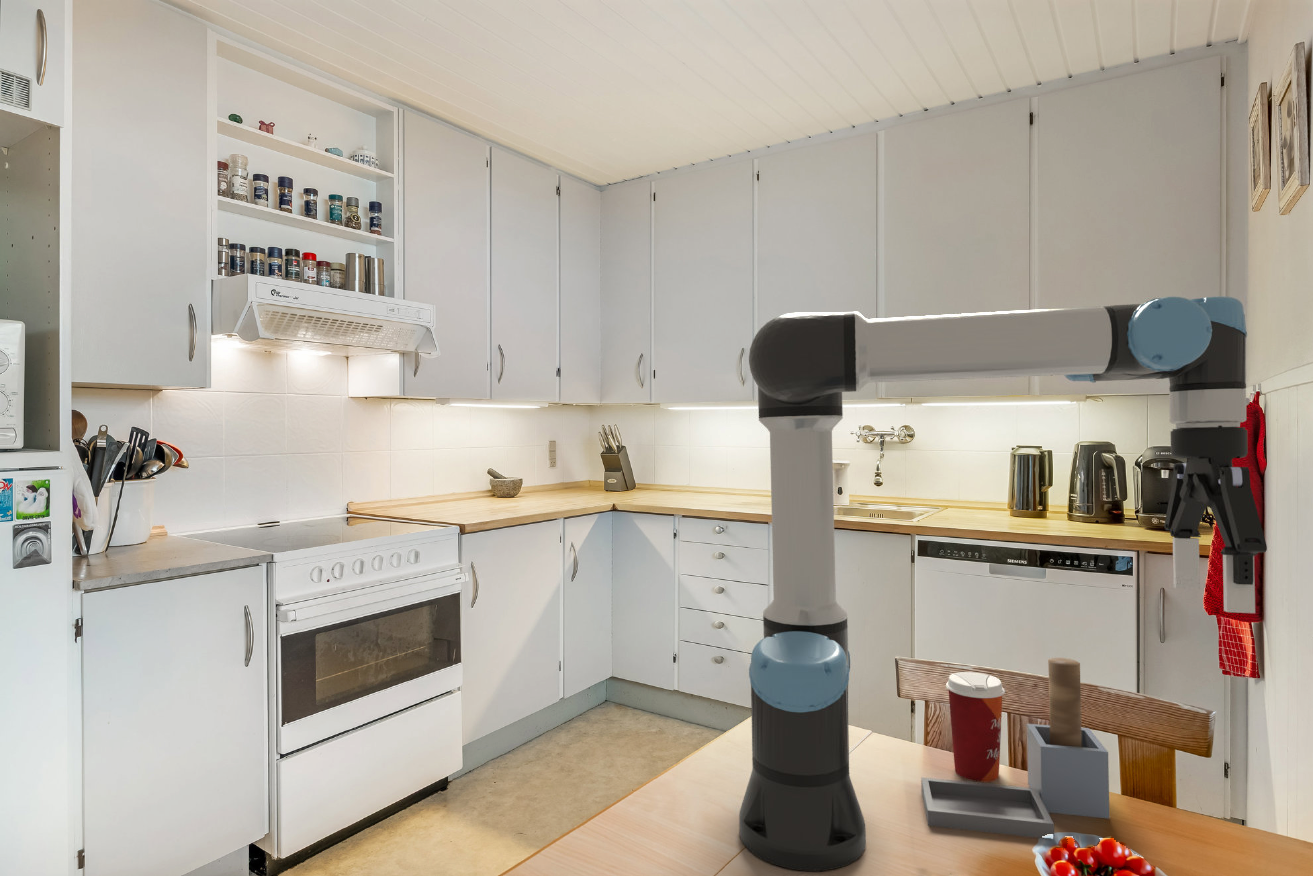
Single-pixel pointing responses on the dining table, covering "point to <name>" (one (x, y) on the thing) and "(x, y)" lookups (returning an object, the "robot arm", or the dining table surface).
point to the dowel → (1064, 702)
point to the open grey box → (1069, 773)
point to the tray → (985, 808)
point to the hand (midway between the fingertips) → (1211, 599)
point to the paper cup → (976, 724)
